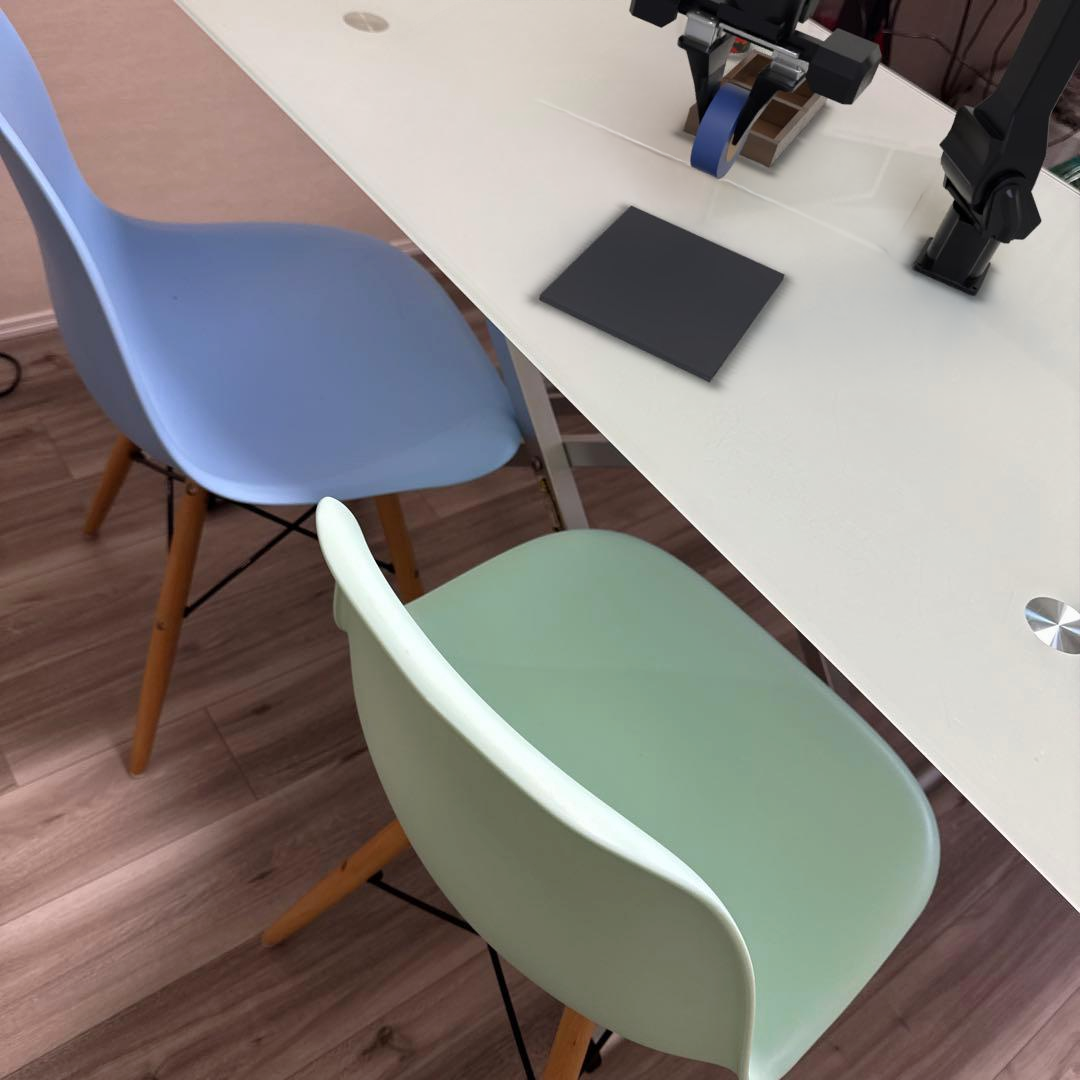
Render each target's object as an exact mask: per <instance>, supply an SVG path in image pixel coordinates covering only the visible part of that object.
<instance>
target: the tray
mask: <svg viewBox="0 0 1080 1080" xmlns="http://www.w3.org/2000/svg"><path fill="white" fill-rule="evenodd" d="M771 56H772V55H771V54H770V55H769V54H767V53H765V52H762V51H760V50H757V49H753V50H751V52H749V53H748V54H747V55H746V56H745V57H744V58H743V59H742V60H740V61H739V63H737V64H736V65H735V66H734V67H732V69H730V71H728V72H727V73H726V74H725V75H723V79H722V83H721V87H722V86H723V85H724V84H726V83H732V84H734V85H736V86H739V87H741V88H743V89H746V90H748V91H751V88H752V86H753V84H754V81H755V79H756V76H757V74H758V73H759V72H760V71H761V70H762V69H763V68H765V67H766V66H767V65H768V64H769V63H770V62H771V61H772V60H773V59H771ZM721 87H720V88H721ZM827 100H828V98H826V97H824V96H821V95H819V94H817V93H814V92H812V91H810V88H809V86H808V83H807V81H806V80H805V81H804V82H803V83H802V84H801V85H800V86H799V87H798V88H796V89H795V90H794V91H793V92H792V93H786V92H783V91H779V92H778V93H777V94H776V95H775V96H774V97H773V99H772V100H771V101H770V102H769V104H768V105H767V106H766V108H765V109H764V110H763V112H762V113H761V114H760V116H759V117H758V118H757V120H756V121H755V123H754V124H753V125H752V127H751V129H750V132H749V134H748V136H747V139H746V141H745V143H744V145H743V147H742V149H741V151H740V153H739V155H738V156H741V157H744V158H746V159H747V160H751V161H753V162H755V163H758V164H760V165H763V166H765V167H767V168H771V167H772V166H773V165H774V163H775V162H776V161H777V160H778V159H779V158H780V157H781V155H782V154H783V153H784V152H785V150H786V149H787V148H788V147H789V146H790V145H791V143H792V142H793V141H794V140H795V139H796V138H797V137H798V136H799V134H800V133H801V132H802V131H803V130H804V128H806V126H807V125H808V124H809V123H810V121H812V119H813V118H814V117H815V116H816V115H817V113H818V112H819V111H820V110H821V109H822V108H823V107H824V105H825V104H826V102H827ZM698 129H699V120H698V111H697V103H696V102H695V103H693V104H692V105H691V106H690V107H689V109H688V113H687V116H686V119H685V124H684V127H683V132H685V133H687V134H690V135H692V136H695V137H696V134H697V131H698Z"/></svg>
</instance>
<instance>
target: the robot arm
mask: <svg viewBox="0 0 1080 1080" xmlns="http://www.w3.org/2000/svg"><path fill="white" fill-rule="evenodd" d="M819 2H820V0H630V5H629V10H628V12H629V14H630V15H631V17H632V16H633V17H634V18H637V19H639V20H642V21H643V22H646V23H649V24H650V25H651V24H652V25H654V26H656V27H658V28H660V29H662V28H664V27H666V26H668V25H669V24H671V23H672V22H675V21H676V20H677V18H678V14H680V15H683V16H685V17H686V18H687V21H686V23H685V26H684V29H683V34H681V35H680V36H678V38H677V40H676V41H677V42H676V45H677V47H678V48H680V49H682V50H684V51H685V52H686V57H687V60H688V64H689V68H690V73H691V77H692V81H693V87H694V94H695V103H697V111H698V120H699V126H700V124H701V121H702V119H703V117H704V115H705V113H706V111H707V109H708V107H709V105H710V103H711V102H712V100H713V98H714V97H715V95H716V94H717V92H718V91H719V90H720V87H721V83H722V79H723V77H724V73H725V69H726V66H727V61H728V58H729V55H730V54H731V53H730V50H731V48H732V46H733V43H734V41H735V38H736V37H738V38H740V39H743V40H745V41H748V42H750V43H751V44H753V45H755V46H757V47H760V48H762V49H764V50H767V51H769V52H772V53H771V55H770V56H771V59H773V60H772V61H771V62H770V63H769V64H768V65H767V66H766V67H765V68H763V69H762V70H761V71H760V72H759V73H758V74H757V76H756V79H755V81H754V84H753V86H752V88H751V91H750V93H749V96H748V98H747V101H746V103H745V106H744V108H743V111H742V113H741V116H740V118H739V121H738V123H737V126H736V128H735V131H734V137H733V141H732V145H734V146H736V145H738V144H739V143H740V141H741V140H742V139H743V137H744V136H745V135H746V133H747V132H748V131H749V129H750V128H751V127H752V125H753V124H754V123H755V121H756V120H757V118H758V117H759V116H760V114H761V113H762V112H763V110H764V109H765V108H766V106H767V105H768V104H769V102H770V101H771V100H772V99H773V97H774V96H775V95H776V94H777V93H778V92H779V91H783V92H786V93H792V92H793V91H794V90H795V89H796V88H798V87H799V86H800V85H801V84H802V83H803V82H804V81H805V80H806V81H807V83H808V86H809V88H810V91H812V92H814V93H817V94H819V95H821V96H824V97H826V98H827V100H828V99H829V100H830V101H833V102H836V103H838V104H840V105H843V106H844V105H845V106H847V105H848V106H851V105H853V104H854V103H855V102H856V101H857V100H858V99H859V98H860V96H861V95H862V94H863V93H864V91H865V90H866V89H867V88H868V87H869V86H870V85H871V84H872V82H873V80H874V78H875V75H876V73H877V71H878V68H879V66H880V63H881V62H882V61H881V60H882V57H883V56H882V52H881V49H880V48H881V47H880V45H879V44H878V43H876V42H874V41H870V40H868V39H865V38H863V37H861V36H858V35H855V34H853V33H852V32H848V31H846V30H843V29H841V28H836V29H835V30H834V31H833V32H832V33H831V34H830V35H829V36H827V38H825V40H822V39H820V38H818V37H815V36H812V35H809V34H808V33H805V32H803V31H800V30H798V29H797V26H798V23H800V24H802V25H804V24H805V23H806V22H807V21H808V20H809V18H810V17H811V18H812V17H813V16H814V14H815V12H816V9H817V6H818V5H819ZM1079 63H1080V0H1040V1H1039V3H1038V5H1037V6H1036V8H1035V10H1034V12H1033V14H1032V17H1031V19H1030V21H1029V23H1028V24H1027V27H1026V28H1025V31H1024V33H1023V35H1022V37H1021V39H1020V41H1019V42H1018V45H1017V47H1016V48H1015V50H1014V53H1013V54H1012V57H1011V59H1010V61H1009V63H1008V65H1007V67H1006V69H1005V70H1004V73H1003V75H1002V77H1001V79H1000V81H999V83H998V85H997V86H996V88H995V90H994V91H993V93H991V94H990V95H989V96H987V97H986V98H985V99H984V100H982V101H981V102H979V103H978V104H977V105H976V106H974V107H972V106H968V105H965V104H963V105H961V106H960V107H959V108H958V110H957V111H956V112H955V115H954V119H953V122H952V124H951V127H950V129H949V131H948V133H947V135H946V136H945V137H944V138H943V139H942V140H941V141H940V143H939V147H940V149H941V150H942V153H941V157H940V165H941V168H942V170H943V172H944V175H943V181H942V187H943V188H944V190H946V191H947V192H948V194H950V196H951V197H952V198H953V200H952V202H951V204H950V206H949V208H948V209H947V212H946V214H945V215H944V218H942V221H941V223H940V224H939V226H938V229H937V231H936V232H935V233H934V236H930V237H928V239H927V240H926V242H925V244H924V245H923V247H922V249H921V251H920V253H919V255H918V256H917V259H916V260H915V262H914V264H913V266H912V267H913V269H914V270H915V271H918V272H919V273H922V274H924V275H926V276H929V277H930V278H932V279H935V280H936V281H937V280H938V281H940V282H942V283H945V284H947V285H949V286H951V287H954V288H956V289H959V290H961V291H962V292H965V293H967V294H969V295H972V296H977V295H978V293H979V292H980V290H981V287H982V285H983V283H984V281H985V278H986V276H987V274H988V272H989V269H990V267H991V265H992V263H991V260H992V259H993V258H994V257H993V256H994V255H995V254H996V252H997V250H998V248H999V247H1000V245H1001V244H1005V245H1006V244H1007V245H1009V244H1010V243H1011V241H1012V242H1013V241H1015V240H1016V241H1017V240H1018V241H1024V240H1026V239H1027V238H1028V237H1029V236H1030V235H1031V234H1032V233H1033V232H1034V231H1035V230H1036V229H1037V228H1038V227H1039V226H1040V225H1041V224H1042V217H1041V215H1040V211H1039V209H1038V206H1037V203H1036V201H1035V197H1034V195H1033V190H1034V187H1035V185H1036V184H1037V181H1038V179H1039V176H1040V173H1041V170H1042V168H1043V166H1044V163H1045V161H1046V159H1047V155H1048V144H1049V134H1050V133H1049V132H1050V119H1051V116H1052V112H1053V110H1054V108H1055V106H1056V105H1057V103H1058V101H1059V99H1060V98H1061V96H1062V94H1063V92H1064V91H1065V89H1066V87H1067V85H1068V83H1069V81H1070V80H1071V78H1072V76H1073V74H1074V72H1075V70H1076V68H1077V67H1078V65H1079Z"/></svg>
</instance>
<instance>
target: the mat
mask: <svg viewBox="0 0 1080 1080" xmlns="http://www.w3.org/2000/svg"><path fill="white" fill-rule="evenodd" d="M785 276H786V275H785V273H782V272H780V271H778V270H776V269H773V268H771V267H769V266H767V265H765V264H762V263H761V262H758V261H756V260H754V259H751V258H750V257H746V256H745V255H743V254H740V253H738V252H736V251H733V250H731V249H729V248H727V247H724V246H723V245H721V244H718V243H717V242H714V241H712V240H709V239H707V238H705V237H703V236H700V235H698V234H696V233H694V232H691V231H689V230H687V229H685V228H683V227H680V226H679V225H676V224H673V223H671V222H670V221H667V220H665V219H662V218H660V217H658V216H655V215H654V214H651V213H650V212H647V211H644V210H643V209H640V208H638V207H636V206H634V205H630V206H629V207H628V208H627V209H626V210H625V211H624V212H623V213H622V214H620V216H619V217H617V218H616V220H615V221H614V222H613V223H612V224H611V225H609V227H607V229H606V230H605V231H603V233H601V234H600V235H599V237H597V238H596V239H595V241H593V242H592V243H591V244H590V245H589V246H588V247H587V248H586V249H585V250H584V251H583V252H582V253H581V254H580V255H579V256H578V257H577V258H576V259H575V260H574V261H573V262H572V263H571V264H570V265H569V266H568V267H567V268H566V269H564V270H563V272H561V273H560V274H559V276H557V278H555V280H553V281H552V282H551V283H550V284H549V285H548V286H547V287H546V288H545V289H544V290H543V291H542V292H541V293H540V294H539V301H541V302H543V303H545V304H547V305H549V306H551V307H553V308H555V309H558V310H559V311H562V312H564V313H566V314H568V315H570V316H572V317H574V318H576V319H578V320H580V321H582V322H585V323H587V324H589V325H591V326H593V327H595V328H597V329H599V330H601V331H603V332H606V333H608V334H610V335H612V336H613V337H616V338H617V339H620V340H622V341H624V342H626V343H628V344H629V345H632V346H634V347H637V348H639V349H640V350H643V351H645V352H646V353H649V354H651V355H653V356H655V357H657V358H659V359H661V360H663V361H665V362H667V363H670V364H672V365H673V366H676V367H678V368H680V369H682V370H684V371H686V372H688V373H690V374H692V375H694V376H696V377H698V378H700V379H703V380H705V381H706V382H708V383H710V382H711V381H712V380H713V379H714V377H715V376H716V374H717V373H718V372H719V370H720V369H721V367H722V366H723V365H724V363H725V362H726V360H727V359H728V357H729V356H730V355H731V353H732V352H733V350H734V349H735V348H736V346H737V345H738V343H739V342H740V340H741V339H742V338H743V336H744V335H745V334H746V332H747V331H748V330H749V328H750V326H751V325H752V324H753V322H754V321H755V320H756V318H757V317H758V316H759V314H760V313H761V311H762V310H763V308H764V307H765V306H766V304H767V303H768V301H769V300H770V298H771V297H772V296H773V294H774V293H775V291H776V290H777V289H778V288H779V286H780V285H781V283H782V282H783V281H784V279H785Z"/></svg>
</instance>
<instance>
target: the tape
mask: <svg viewBox="0 0 1080 1080" xmlns="http://www.w3.org/2000/svg"><path fill="white" fill-rule="evenodd" d="M749 93H750V91H748V90H746V89H743V88H741V87H739V86H736V85H734V84H732V83H726V84H724V85H723V86H722V87H721V88H720V90H719V91H718V92H717V94H716V95H715V97H714V98H713V100H712V102H711V103H710V105H709V107H708V109H707V111H706V113H705V115H704V117H703V119H702V121H701V124H700V126H699V129H698V131H697V134H696V136H695V137H694V141H693V143H692V148H691V151H690V158H689V160H690V161H689V162H690V166H691V168H692V169H694V170H696V171H698V172H701V173H702V174H703V173H704V174H705V175H707V176H709V177H712V178H714V179H716V180H721V179H723V178H724V177H725V176H726V175H727V174H728V173H729V171H731V169H732V167H733V165H734V164H735V162H736V161H737V159H738V157H739V156H740V155H739V153H740V151H741V149H742V147H743V145H744V143H745V141H746V139H747V136H748V134H749V132H750V129H751V128H750V129H749V131H748V132H747V133H746V135H745V136H744V137H743V139H742V140H741V141H740V143H739V144H738V145H736V146H734V145H732V141H733V137H734V131H735V128H736V126H737V123H738V121H739V118H740V116H741V113H742V111H743V108H744V106H745V103H746V101H747V98H748V96H749Z"/></svg>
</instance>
